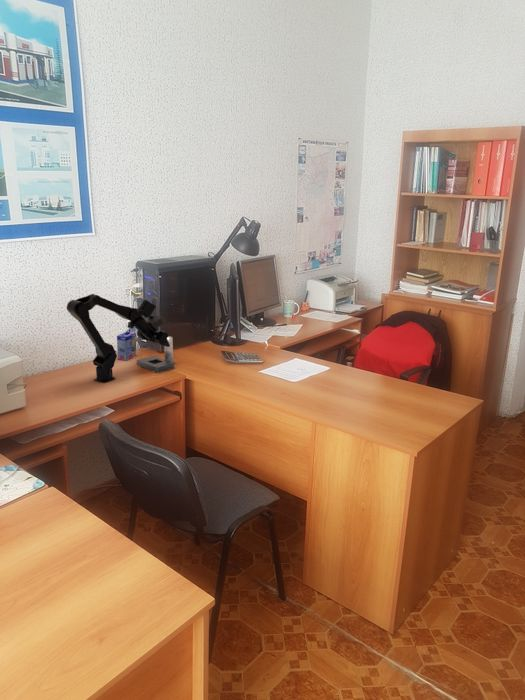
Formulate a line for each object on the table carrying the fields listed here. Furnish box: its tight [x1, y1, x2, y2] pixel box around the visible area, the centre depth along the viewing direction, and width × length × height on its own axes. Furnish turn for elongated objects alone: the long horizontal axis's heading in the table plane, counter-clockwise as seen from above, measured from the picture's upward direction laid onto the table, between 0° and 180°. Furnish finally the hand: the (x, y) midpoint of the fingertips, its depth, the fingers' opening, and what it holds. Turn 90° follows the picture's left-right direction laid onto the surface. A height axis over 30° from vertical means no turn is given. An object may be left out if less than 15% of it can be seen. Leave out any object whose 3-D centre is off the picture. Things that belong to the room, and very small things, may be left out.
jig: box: [136, 355, 175, 374], centre depth 263 cm, size 10×16×2 cm, turn 46°
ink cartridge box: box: [116, 328, 137, 361], centre depth 275 cm, size 10×6×14 cm, turn 163°
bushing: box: [163, 335, 174, 363], centre depth 267 cm, size 4×4×13 cm
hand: (163, 344), depth 264 cm, fingers open, 9 cm apart
